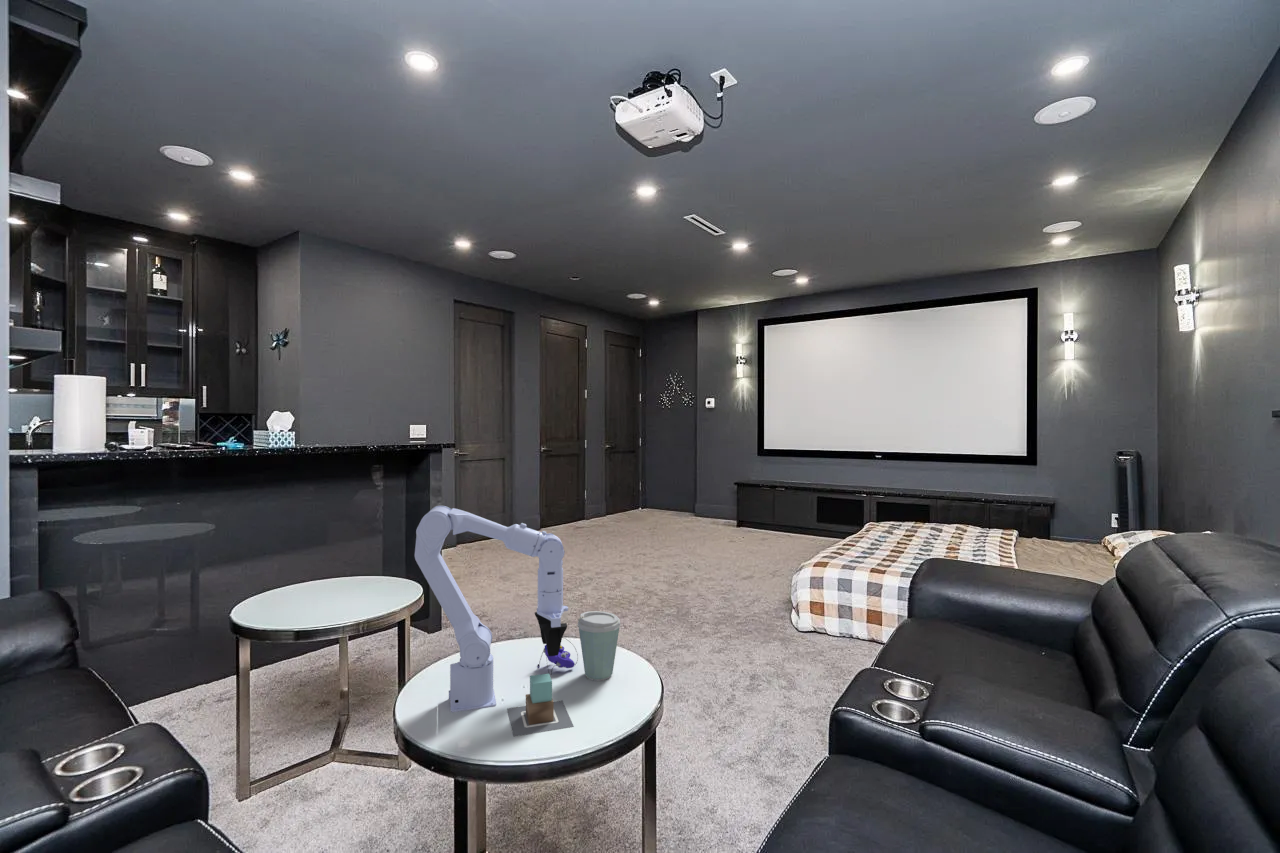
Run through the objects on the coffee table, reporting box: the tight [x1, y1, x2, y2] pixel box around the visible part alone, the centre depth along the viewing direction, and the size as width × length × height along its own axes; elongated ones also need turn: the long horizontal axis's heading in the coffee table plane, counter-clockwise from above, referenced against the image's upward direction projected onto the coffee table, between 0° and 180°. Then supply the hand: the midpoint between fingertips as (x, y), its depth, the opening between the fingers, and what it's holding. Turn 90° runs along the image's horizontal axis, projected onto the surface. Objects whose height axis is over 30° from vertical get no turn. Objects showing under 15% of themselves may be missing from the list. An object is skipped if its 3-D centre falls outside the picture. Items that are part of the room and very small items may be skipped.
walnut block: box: [525, 693, 555, 725], centre depth 122 cm, size 5×5×4 cm
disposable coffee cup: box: [577, 610, 621, 681], centre depth 143 cm, size 11×11×15 cm
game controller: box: [537, 636, 579, 675], centre depth 148 cm, size 10×8×10 cm
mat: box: [506, 699, 574, 737], centre depth 122 cm, size 12×12×1 cm
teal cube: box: [529, 673, 553, 703], centre depth 122 cm, size 4×4×4 cm
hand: (550, 649), depth 133 cm, fingers open, 7 cm apart
